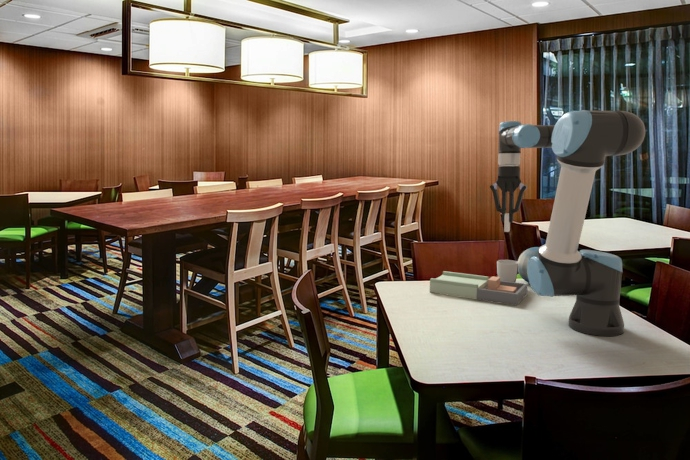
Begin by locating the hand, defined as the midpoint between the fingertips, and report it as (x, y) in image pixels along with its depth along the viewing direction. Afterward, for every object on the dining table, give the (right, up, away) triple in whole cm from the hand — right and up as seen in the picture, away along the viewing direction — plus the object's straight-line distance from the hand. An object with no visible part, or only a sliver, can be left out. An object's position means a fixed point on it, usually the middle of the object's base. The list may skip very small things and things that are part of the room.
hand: (506, 231), depth 188 cm
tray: (-1, -24, +2) cm, 24 cm away
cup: (+5, -22, +16) cm, 27 cm away
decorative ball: (+18, -21, +19) cm, 34 cm away
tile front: (0, -21, +1) cm, 21 cm away
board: (-15, -23, +10) cm, 29 cm away
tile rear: (-5, -20, +4) cm, 21 cm away
